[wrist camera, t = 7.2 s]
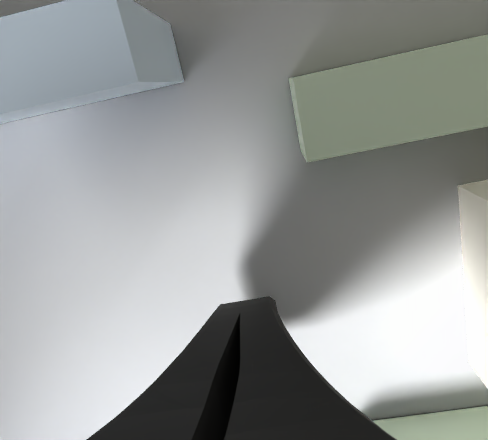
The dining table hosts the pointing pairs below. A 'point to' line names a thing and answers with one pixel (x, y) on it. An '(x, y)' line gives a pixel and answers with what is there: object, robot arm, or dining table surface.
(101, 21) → the pale blue square frame
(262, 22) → the dining table surface
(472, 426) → the pale green flat block
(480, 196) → the cube
